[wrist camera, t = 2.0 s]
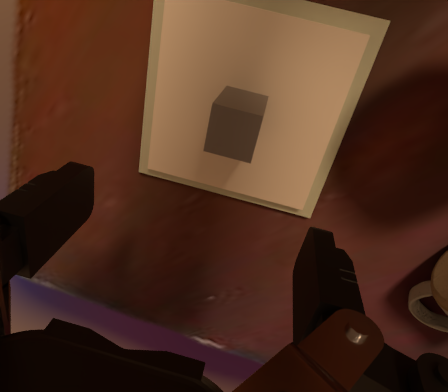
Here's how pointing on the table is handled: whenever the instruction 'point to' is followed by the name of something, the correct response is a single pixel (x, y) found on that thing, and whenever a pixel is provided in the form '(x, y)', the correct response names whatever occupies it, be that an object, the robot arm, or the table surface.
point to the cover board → (258, 67)
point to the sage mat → (375, 27)
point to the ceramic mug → (438, 288)
